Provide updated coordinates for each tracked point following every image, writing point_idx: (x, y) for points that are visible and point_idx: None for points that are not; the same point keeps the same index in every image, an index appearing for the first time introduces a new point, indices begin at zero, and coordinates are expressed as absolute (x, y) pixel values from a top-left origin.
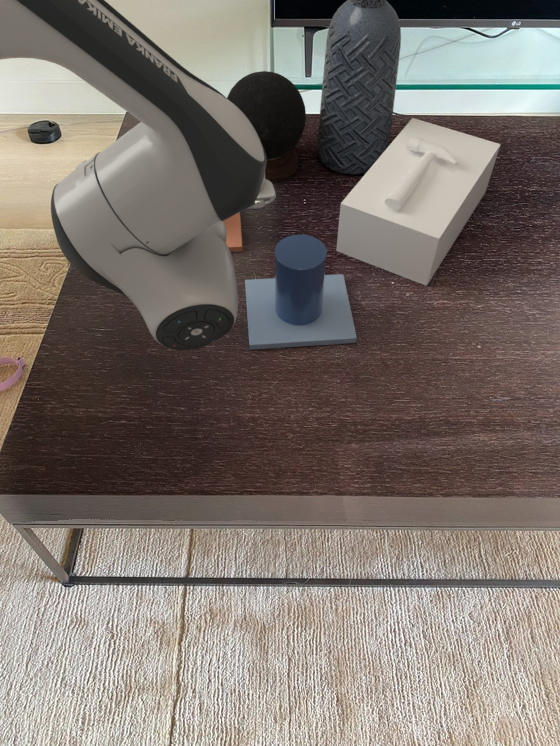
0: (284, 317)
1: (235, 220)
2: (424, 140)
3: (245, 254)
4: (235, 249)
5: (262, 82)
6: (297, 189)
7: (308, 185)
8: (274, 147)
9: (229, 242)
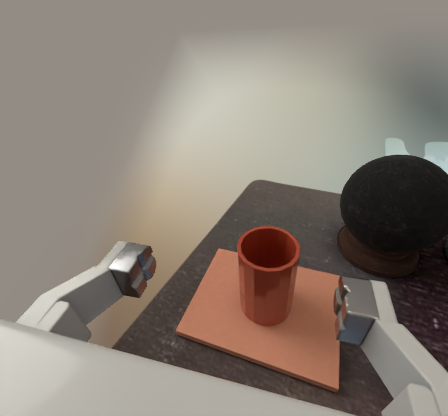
0: None
1: (332, 328)
2: None
3: (340, 401)
4: (326, 387)
5: (410, 167)
6: (421, 298)
7: (437, 296)
8: (406, 246)
9: (319, 371)
